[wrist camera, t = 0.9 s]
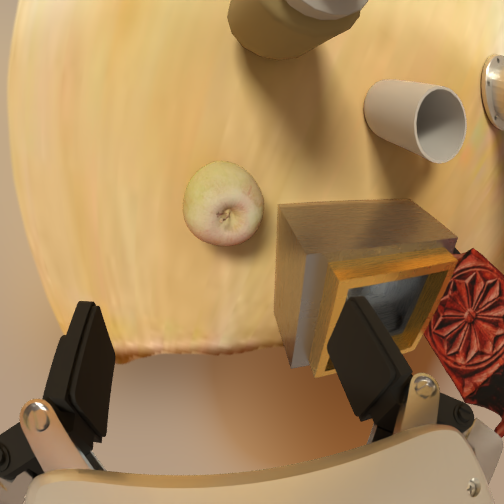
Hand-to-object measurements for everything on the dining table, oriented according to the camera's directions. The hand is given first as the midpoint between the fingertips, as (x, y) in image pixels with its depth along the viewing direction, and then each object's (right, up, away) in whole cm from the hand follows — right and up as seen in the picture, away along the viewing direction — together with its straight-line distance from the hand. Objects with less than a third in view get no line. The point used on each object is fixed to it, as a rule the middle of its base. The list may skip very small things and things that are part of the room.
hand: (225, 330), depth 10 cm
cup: (+17, +19, +16) cm, 30 cm away
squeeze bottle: (+2, +24, +10) cm, 26 cm away
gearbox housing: (+13, +2, +26) cm, 29 cm away
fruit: (-2, +9, +19) cm, 21 cm away
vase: (+31, 0, +31) cm, 44 cm away
